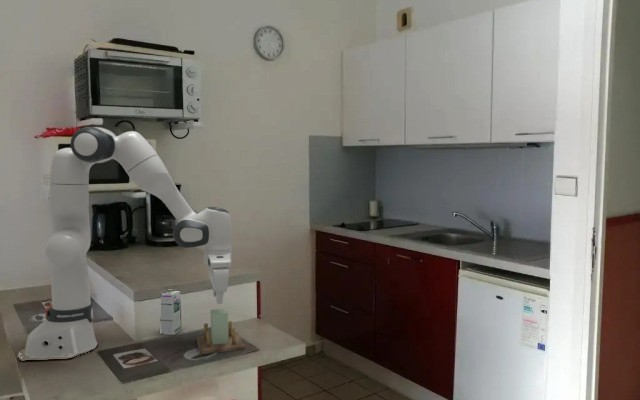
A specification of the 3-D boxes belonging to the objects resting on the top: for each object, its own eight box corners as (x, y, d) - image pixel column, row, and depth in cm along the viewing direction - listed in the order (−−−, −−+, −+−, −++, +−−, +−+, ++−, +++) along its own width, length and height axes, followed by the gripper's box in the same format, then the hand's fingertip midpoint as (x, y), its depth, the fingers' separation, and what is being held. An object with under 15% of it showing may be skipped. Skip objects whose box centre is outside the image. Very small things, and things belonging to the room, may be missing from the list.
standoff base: (199, 354, 165) (199, 335, 164) (196, 339, 178) (195, 322, 178) (244, 349, 169) (244, 330, 168) (238, 335, 182) (237, 318, 182)
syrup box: (174, 335, 183) (173, 293, 182) (158, 334, 184) (157, 293, 183) (182, 330, 188) (180, 289, 187) (166, 329, 189) (165, 289, 188)
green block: (212, 344, 170) (212, 314, 169) (211, 339, 175) (210, 309, 174) (228, 343, 172) (227, 312, 171) (226, 338, 176) (225, 308, 176)
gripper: (204, 252, 180) (204, 292, 181) (211, 263, 161) (210, 308, 162) (223, 251, 182) (223, 291, 183) (231, 262, 163) (231, 307, 164)
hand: (217, 299), depth 172 cm, fingers open, 8 cm apart
